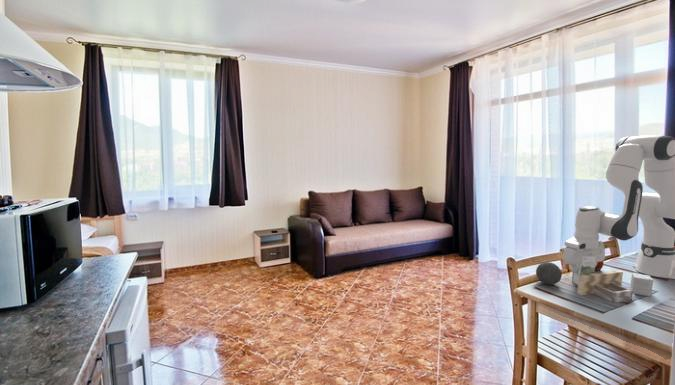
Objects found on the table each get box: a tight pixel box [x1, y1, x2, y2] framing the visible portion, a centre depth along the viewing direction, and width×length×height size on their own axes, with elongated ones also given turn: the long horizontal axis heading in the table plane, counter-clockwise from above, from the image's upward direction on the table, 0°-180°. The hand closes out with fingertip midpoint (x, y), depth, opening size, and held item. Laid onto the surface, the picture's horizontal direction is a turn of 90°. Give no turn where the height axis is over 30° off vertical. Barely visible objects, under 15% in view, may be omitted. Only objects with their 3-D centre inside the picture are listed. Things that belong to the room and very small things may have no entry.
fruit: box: [594, 260, 605, 272], centre depth 173 cm, size 8×8×8 cm
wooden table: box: [577, 269, 633, 304], centre depth 143 cm, size 22×11×8 cm, turn 105°
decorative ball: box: [535, 261, 562, 286], centre depth 156 cm, size 10×10×10 cm
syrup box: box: [571, 255, 596, 286], centre depth 155 cm, size 6×6×14 cm
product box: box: [629, 272, 654, 297], centre depth 146 cm, size 6×6×7 cm
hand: (583, 271), depth 155 cm, fingers open, 8 cm apart
